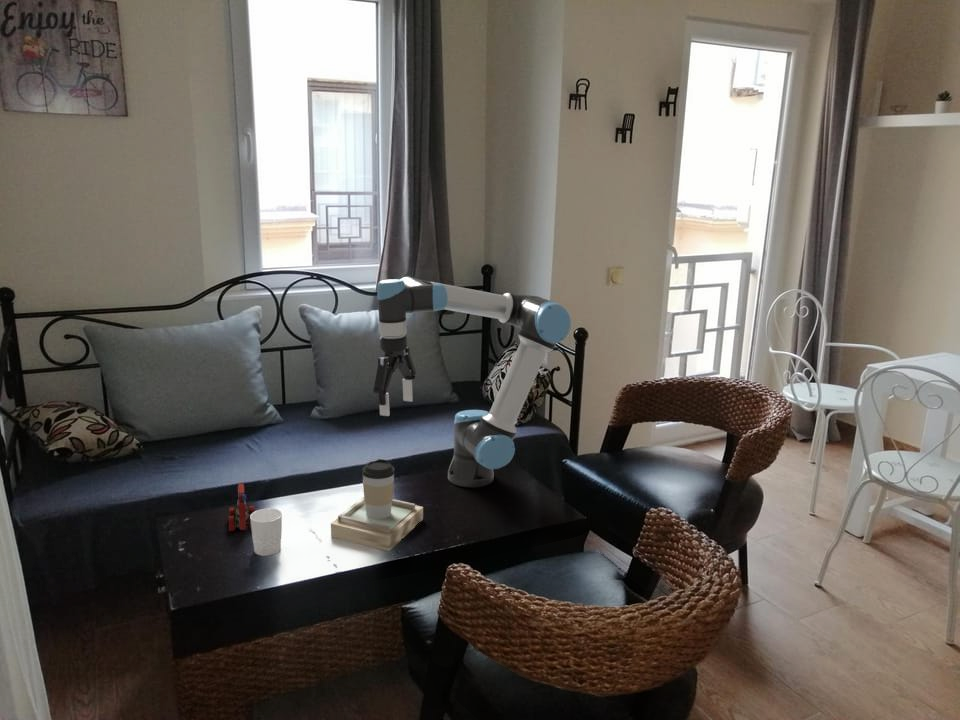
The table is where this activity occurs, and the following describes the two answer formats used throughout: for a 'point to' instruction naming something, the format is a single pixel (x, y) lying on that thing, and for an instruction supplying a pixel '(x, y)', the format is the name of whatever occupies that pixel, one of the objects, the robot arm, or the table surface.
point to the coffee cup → (378, 488)
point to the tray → (377, 525)
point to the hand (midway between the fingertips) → (396, 407)
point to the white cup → (266, 531)
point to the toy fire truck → (240, 512)
